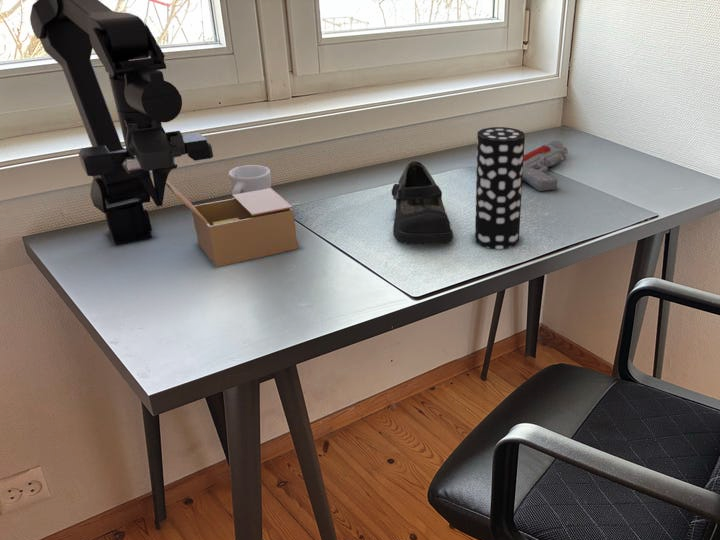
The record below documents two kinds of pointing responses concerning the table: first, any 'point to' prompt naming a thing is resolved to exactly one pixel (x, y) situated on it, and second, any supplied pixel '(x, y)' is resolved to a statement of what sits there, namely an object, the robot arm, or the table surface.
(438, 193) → the shoe
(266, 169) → the cup
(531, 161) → the toy gun
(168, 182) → the flap
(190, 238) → the table surface
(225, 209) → the carton
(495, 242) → the spotted tube
